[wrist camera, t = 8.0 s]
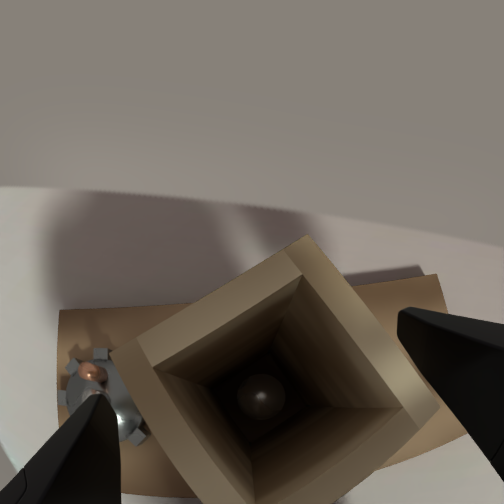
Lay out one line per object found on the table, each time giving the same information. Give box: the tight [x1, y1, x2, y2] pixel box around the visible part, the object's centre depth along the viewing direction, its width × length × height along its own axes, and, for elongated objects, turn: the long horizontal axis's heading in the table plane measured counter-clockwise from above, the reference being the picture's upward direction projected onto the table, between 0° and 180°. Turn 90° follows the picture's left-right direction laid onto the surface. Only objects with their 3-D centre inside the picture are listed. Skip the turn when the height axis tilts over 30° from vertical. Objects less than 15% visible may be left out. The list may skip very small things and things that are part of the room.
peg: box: [237, 374, 285, 420], centre depth 13 cm, size 2×2×5 cm
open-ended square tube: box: [109, 234, 441, 504], centre depth 10 cm, size 9×9×11 cm
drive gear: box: [57, 348, 151, 447], centre depth 13 cm, size 6×6×3 cm
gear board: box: [57, 274, 468, 498], centre depth 16 cm, size 11×25×1 cm, turn 96°
